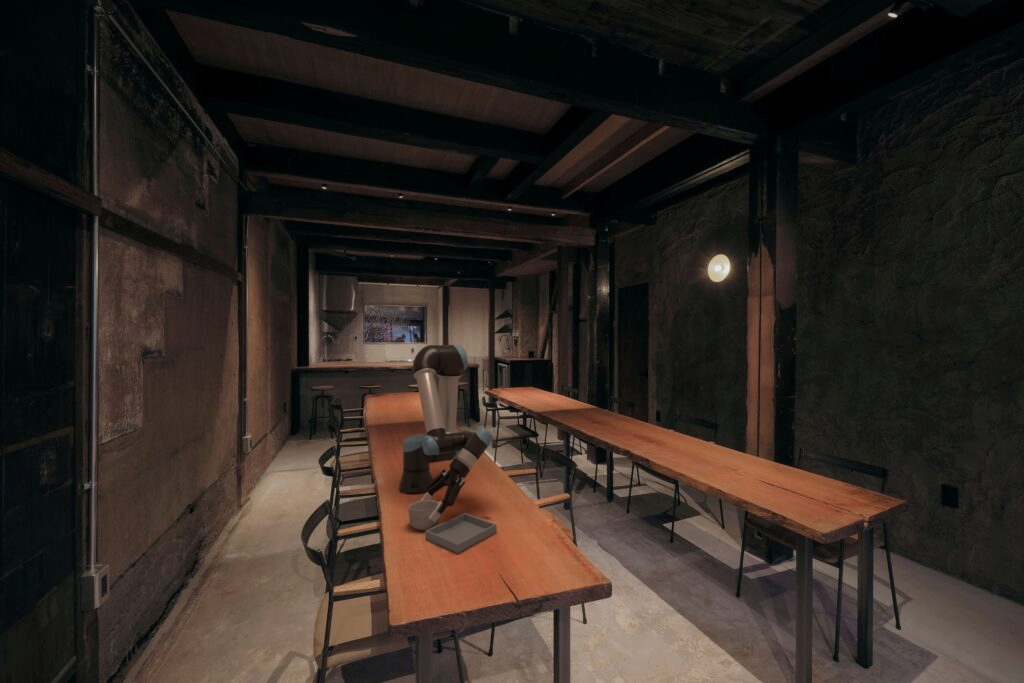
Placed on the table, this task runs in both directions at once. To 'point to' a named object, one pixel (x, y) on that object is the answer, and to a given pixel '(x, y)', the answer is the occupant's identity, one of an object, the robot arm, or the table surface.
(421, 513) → the teacup
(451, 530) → the tray
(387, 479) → the table surface
